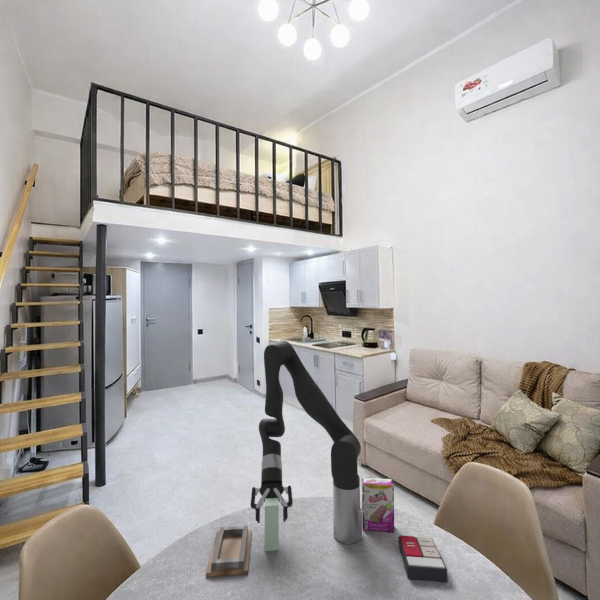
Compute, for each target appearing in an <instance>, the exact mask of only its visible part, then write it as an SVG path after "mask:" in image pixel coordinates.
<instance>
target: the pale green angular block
mask: <svg viewBox="0 0 600 600" xmlns="http://www.w3.org/2000/svg"><path fill="white" fill-rule="evenodd" d="M279 504H280V503H279V500H278V498H268V499H265V502H264V552H275V551H279V549H280V547H279V545H280V543H279V541H280V539H279V536H280V535H279V533H280V532H279V531H280V530H279V529H280V528H279V527H280V526H279V525H280V524H279V523H280V522H279V518H280V516H279V515H280V514H279V511H280V509H279V507H280V505H279Z"/></svg>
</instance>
